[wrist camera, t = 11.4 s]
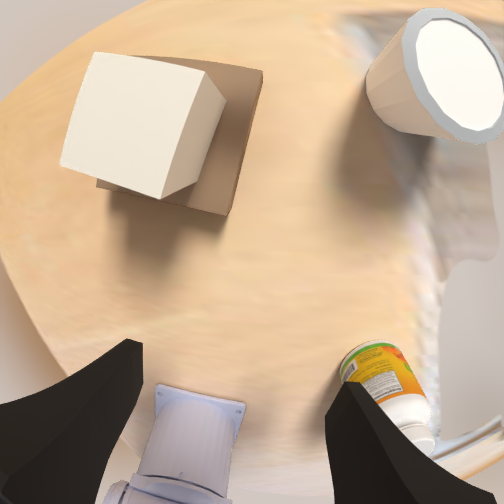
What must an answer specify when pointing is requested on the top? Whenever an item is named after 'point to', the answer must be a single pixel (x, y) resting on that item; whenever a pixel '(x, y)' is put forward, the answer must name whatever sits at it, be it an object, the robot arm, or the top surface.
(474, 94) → the white cup
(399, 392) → the supplement bottle
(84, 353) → the top surface
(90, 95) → the cream block
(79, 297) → the top surface
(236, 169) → the walnut block
